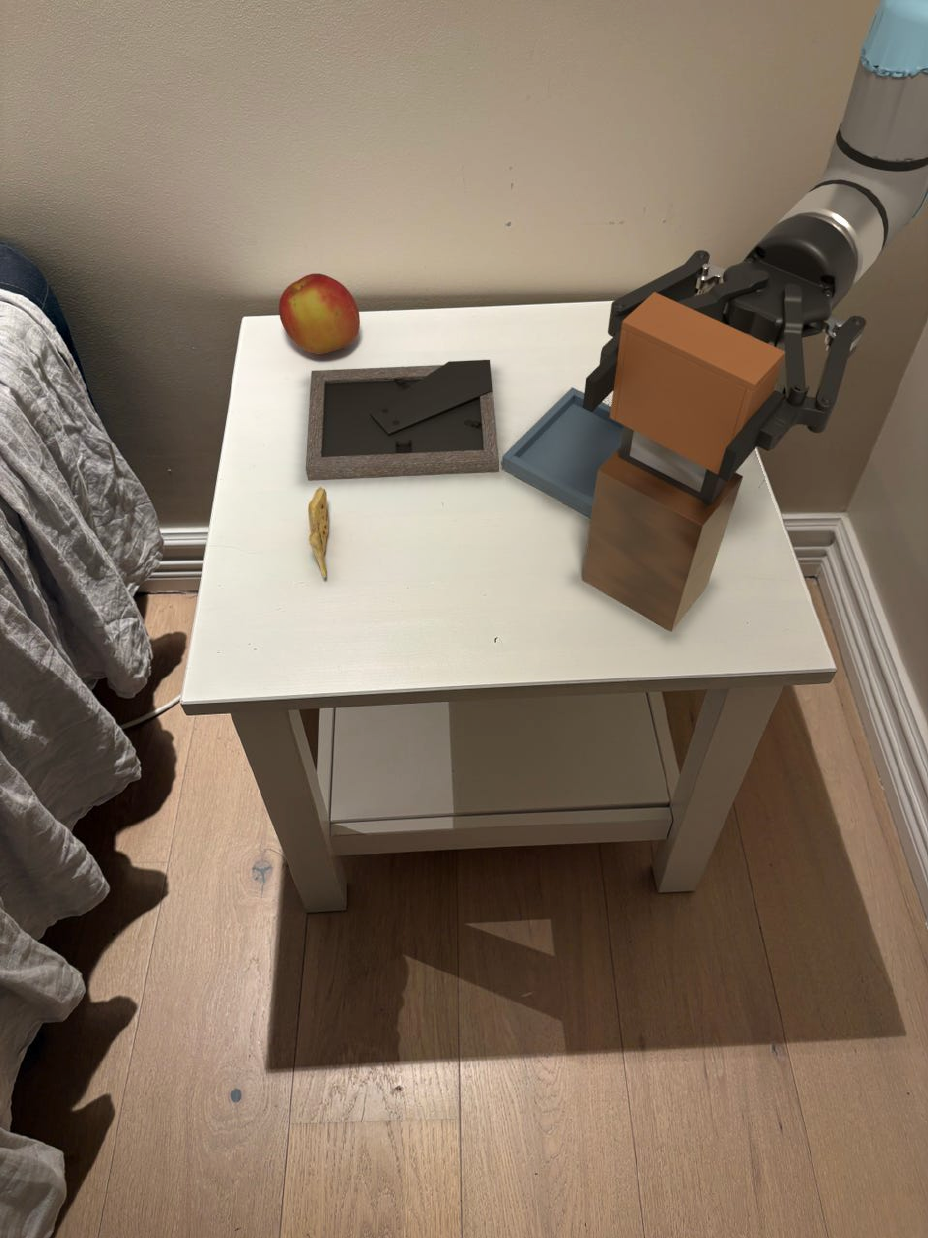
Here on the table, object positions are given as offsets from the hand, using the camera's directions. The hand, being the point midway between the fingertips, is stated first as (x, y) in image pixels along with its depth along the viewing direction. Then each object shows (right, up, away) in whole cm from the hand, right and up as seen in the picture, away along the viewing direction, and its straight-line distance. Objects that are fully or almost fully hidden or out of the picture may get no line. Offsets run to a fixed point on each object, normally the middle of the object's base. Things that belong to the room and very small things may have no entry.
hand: (655, 429), depth 64 cm
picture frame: (-19, +6, +31) cm, 37 cm away
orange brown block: (+3, +1, +5) cm, 6 cm away
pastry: (-25, -6, +23) cm, 35 cm away
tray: (0, +2, +28) cm, 28 cm away
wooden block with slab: (+3, -9, +20) cm, 22 cm away
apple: (-27, +16, +38) cm, 49 cm away
